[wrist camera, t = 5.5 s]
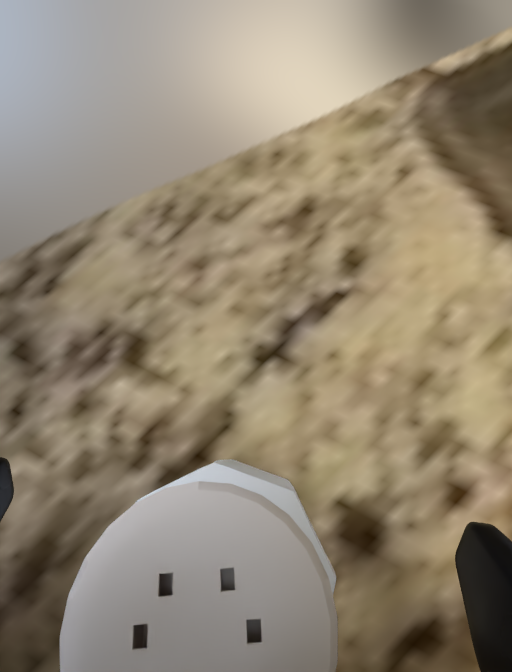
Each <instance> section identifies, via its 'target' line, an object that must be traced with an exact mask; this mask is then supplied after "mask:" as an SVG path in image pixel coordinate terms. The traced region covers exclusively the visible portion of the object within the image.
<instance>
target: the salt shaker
mask: <svg viewBox="0 0 512 672" xmlns="http://www.w3.org/2000/svg"><path fill="white" fill-rule="evenodd" d="M335 583H336V575H335V571H334V569H333V567H332V565H331V563H330V561H329V559H328V557H327V555H326V553H325V551H324V549H323V547H322V545H321V543H320V541H319V539H318V537H317V535H316V532H315V530H314V528H313V526H312V524H311V522H310V520H309V518H308V516H307V514H306V512H305V510H304V508H303V506H302V504H301V501H300V499H299V497H298V495H297V493H296V491H295V488H294V487H293V485H292V484H291V483H290V481H289V480H288V479H285V478H282V477H280V476H277V475H274V474H271V473H269V472H266V471H263V470H260V469H258V468H255V467H252V466H249V465H247V464H244V463H241V462H238V461H236V460H217V461H215V462H214V463H212V464H210V465H207V466H205V467H202V468H200V469H198V470H196V471H194V472H192V473H190V474H188V475H186V476H184V477H182V478H180V479H178V480H176V481H173V482H171V483H169V484H167V485H165V486H163V487H161V488H159V489H157V490H155V491H153V492H151V493H149V494H148V495H146V496H144V497H142V498H140V499H139V500H137V501H136V503H135V504H134V505H133V506H132V507H130V508H129V509H128V510H127V511H126V512H125V513H123V514H122V515H121V516H120V517H119V518H117V519H116V520H115V521H114V522H113V523H112V524H110V525H109V526H108V527H107V529H106V530H105V531H104V533H103V534H102V535H101V537H100V538H99V539H98V541H97V542H96V543H95V545H94V546H93V548H92V549H91V550H90V552H89V553H88V554H87V556H86V557H85V559H84V561H83V563H82V566H81V568H80V570H79V572H78V575H77V577H76V579H75V581H74V584H73V586H72V588H71V590H70V593H69V595H68V599H67V604H66V609H65V614H64V619H63V623H62V628H61V633H60V672H335V670H336V666H337V661H338V617H337V613H336V608H335V604H334V599H333V593H334V588H335Z"/></svg>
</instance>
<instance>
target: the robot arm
mask: <svg viewBox="0 0 512 672" xmlns="http://www.w3.org/2000/svg"><path fill="white" fill-rule="evenodd" d="M13 494H14V487H13V481H12V475H11V469H10V464H9V462H8V460H7V459H5V458H2V457H0V521H1V520H2V518H3V516H4V514H5V512H6V511H7V509H8V507H9V505H10V503H11V501H12V498H13ZM455 562H456V568H457V573H458V578H459V582H460V587H461V592H462V596H463V601H464V605H465V610H466V615H467V619H468V624H469V629H470V633H471V638H472V642H473V646H474V650H475V654H476V658H477V661H478V664H479V668H480V671H481V672H512V541H511V540H509V539H508V538H507V537H506V536H505V535H504V534H503V533H502V532H501V531H499V530H498V529H497V528H496V527H495V526H493V525H491V524H486V523H478V522H470V523H468V524H467V526H466V528H465V530H464V533H463V535H462V538H461V540H460V543H459V545H458V548H457V551H456V555H455Z"/></svg>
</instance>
